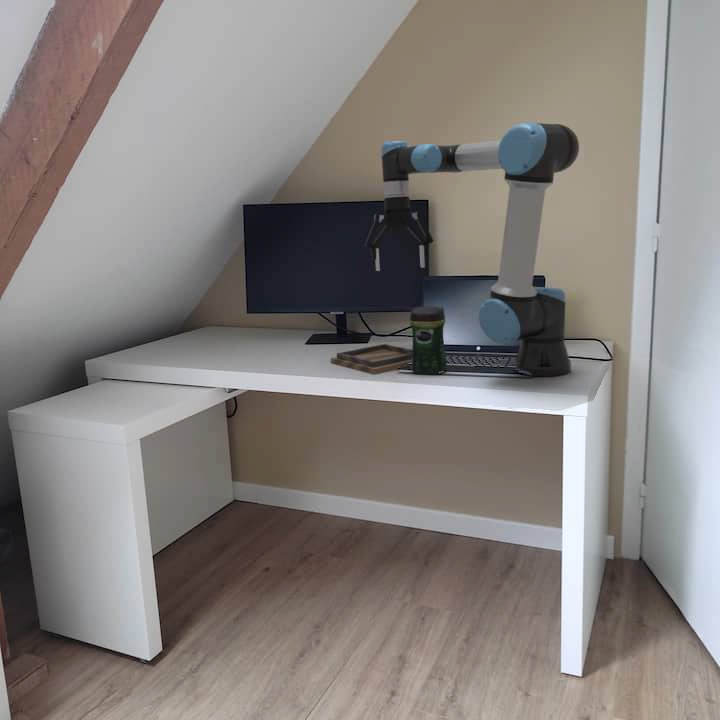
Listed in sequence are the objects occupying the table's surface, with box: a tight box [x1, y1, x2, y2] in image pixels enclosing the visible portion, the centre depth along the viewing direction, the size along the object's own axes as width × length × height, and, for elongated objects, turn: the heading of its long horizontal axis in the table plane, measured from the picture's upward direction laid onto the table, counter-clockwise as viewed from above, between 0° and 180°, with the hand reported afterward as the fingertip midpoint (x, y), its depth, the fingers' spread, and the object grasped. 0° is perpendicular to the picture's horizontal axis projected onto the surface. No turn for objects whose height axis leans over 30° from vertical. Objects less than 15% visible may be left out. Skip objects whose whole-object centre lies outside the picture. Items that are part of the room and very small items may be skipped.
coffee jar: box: [409, 306, 448, 375], centre depth 204 cm, size 10×8×19 cm
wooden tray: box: [330, 343, 413, 375], centre depth 221 cm, size 22×21×3 cm
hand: (400, 269), depth 219 cm, fingers open, 13 cm apart
